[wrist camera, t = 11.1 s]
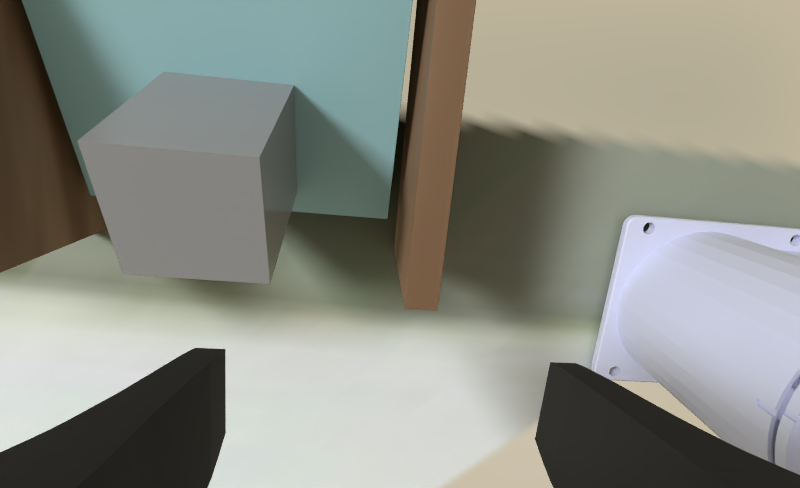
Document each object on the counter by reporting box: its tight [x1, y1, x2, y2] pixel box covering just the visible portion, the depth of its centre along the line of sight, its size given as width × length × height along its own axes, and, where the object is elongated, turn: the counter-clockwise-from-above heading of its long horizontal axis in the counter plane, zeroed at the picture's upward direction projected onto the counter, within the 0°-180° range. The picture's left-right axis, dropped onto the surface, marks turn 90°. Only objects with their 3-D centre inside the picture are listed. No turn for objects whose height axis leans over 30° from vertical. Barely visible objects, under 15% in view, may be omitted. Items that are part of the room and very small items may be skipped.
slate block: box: [77, 72, 297, 284], centre depth 14 cm, size 4×4×5 cm
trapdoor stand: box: [0, 0, 476, 311], centre depth 15 cm, size 14×14×6 cm
